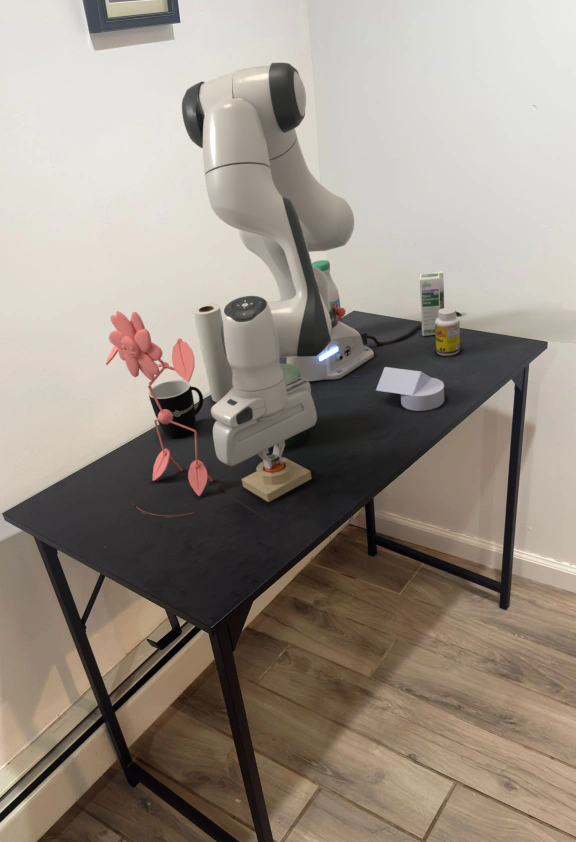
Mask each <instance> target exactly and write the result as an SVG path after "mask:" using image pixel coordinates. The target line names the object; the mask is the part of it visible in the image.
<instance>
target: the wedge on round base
mask: <svg viewBox="0 0 576 842" xmlns="http://www.w3.org/2000/svg"><path fill="white" fill-rule="evenodd" d="M375 391H377V392H385V393H391V394H398V395H400V404H401V406H402V407H403V408H404V409H405V410H409V411H415V412H424V411H430V410H434V409H437V408H439V407H441V406H442V405H443V404H444V403H445V383H444V382H443V381H442V380H441V379H438V378H436V377H431V376H430V375H428V374H426V373H424V372H423V371H421V370H420V371H419V370H412V369H405V368H397V367H388V366H384V368H383V371H382V374H381V376H380V377H379V381H378V383H377V385H376V388H375Z"/></svg>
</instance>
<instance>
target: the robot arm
mask: <svg viewBox="0 0 576 842" xmlns="http://www.w3.org/2000/svg"><path fill="white" fill-rule="evenodd" d="M306 107H307V94H306V88H305V84H304V82H303V80H302V78H301V75H300V73H299V71H298V70H297V68H296V67H294V66H293V64H292V65H291V63H289V62H272V63H270V65H259V66H252V67H246V68H241V69H237V70H235V71H233V72H230V73H226V74H224V75H221V76H218V77H215V78H212V79H210V80H208V81H200V82H197V83H196V84H194V85H191V86H190V87H189V88H187V89H186V91H185V94H184V95H183V98H182V101H181V115H182V120H183V124H184V128H185V131H186V132H187V135H188V137H189V139H190V140H191V142H192V143H193V144H195V145H196V146H198V148H201V149H202V160H203V170H204V171H203V172H204V179H205V187H206V192H207V197H208V200H209V204H210V207H211V209H212V211H213V212H214V214H215V215H216V216H217V218H219V220H221V221H222V222H223V223H225V225H228V226H230V227H232V228H234V229H237V230H238V232H239V233H238V234H239V237H240V241H242V244H243V246H244V247H245V248H246V249H247V250H248V251H250V252H251V253H253V254H254V255H255V256H257V258H259V259H260V260H261V261H262V262H263V263H264V264H265V265H266V267H267V268H268V269H269V271H270V273H271V274H272V275H273V278H274V280H275V282H276V286H277V289H278V293H279V297H280V300H274V301H267V300H266V299H264V297H261V296H258V295H257V296H256V295H246V296H245V295H244V296H240V297H237V298H235V299H233V300H231V301H229V302H228V303H227V304H226V305H225V306H224V308H223V309H222V320H223V323H222V325H221V338H222V343H223V348H224V353H225V355H226V357H227V359H228V362H229V364H230V366H231V368H232V372H233V377H232V384H233V388H232V389H231V390H230V391H229V392H228V393H227V394H226V395H225V396H224V397H223V398H222V399H221V400H220V401H218V402H215V404H214V405H213V406H211V408H210V414H211V417H212V418H213V419H215V422H214V424H213V427H212V438H213V444H214V451H215V455H216V458H217V459H218V460H219V461H220V462H221V463H222V464H224V465H226V466H229V467H233V466H236V465H238V464H240V463H242V462H245V461H246V460H248V459H250V458H252V457H254V456H256V455H257V456H258V457H260V458H261V459H262V462H264V466H265V468H267V469H271V468H273V467H275V466H277V465H279V464H281V463H282V458H283V452H284V450H285V449H284V447H285V441H284V440H286V439H288V438H290V437H292V436H294V435H296V434H298V433H300V432H302V431H304V430H306V431H307V430H309V429H310V428H312V427H314V426H315V425H316V423H317V421H318V415H317V410H316V406H315V405H316V404H315V401H314V399H313V396H312V388H311V383H310V382H316V381H323V380H339V379H342V378H343V377H345V376H346V375H348V374H349V373H351V372H352V371H354V370H355V369H357V368H359V367H360V366H362V365H363V364H364V363H366V362H368V361H369V360H371V359H373V358H374V357H375V353H374V350H373V349H372V348H370V347H368V346H366V345H368V339H370V340H372V341H373V342H374V344H376V345H377V346H385V345H390V344H394V343H396V342H399V341H401V340H403V339H405V338H408V337H409V336H411V335H412V334H413V333H415V332H416V331H417V330H419V329H420V328H422V323H420V324H417V325H416V326H415V327H413V328H412V329H411V330H410V331H408V332H407V333H405V334H403V335H401V336H399V337H396V338H394V339H391V340H389V341H378V339H377V338H376V337H375V336H374V335H369V334H368V333H367V332H365V331H363V330H360V329H358V328H356V329H355V328H353V327H351V326H349V325H347V324H345V323H344V322H342V323H341V322H340V321H338V319H337V317H336V316H340V317H342V318H343V317H345V315H346V312H347V311H346V309H345V307H341V306H340V307H341V308H340V307H337V308H336V309H334V307H331V306H330V299H329V290H328V281H327V278H326V276H325V274H324V273H323V272H322V271H321V270H320V269H319V268H317V267H315V266H313V265H312V263H313V262H312V259H311V256H310V252H312V253H313V252H327V251H330V250H333V249H337V248H341V247H344V246H346V245H347V244H348V242H349V241H350V239H351V238H352V235H353V234H354V229H355V216H354V212H353V209H352V207H351V206H350V204H349V202H348V201H347V200H346V199H344V198H343V197H340V196H338V195H336V194H334V193H332V192H331V191H330V190H328V189H327V188H326V187H325V186H324V185H322V184H321V183H320V182H319V180H317V179H316V177H315V176H314V175H313V173H312V172H311V170H310V168H309V167H308V165H307V161H306V159H305V156H304V154H303V151H302V148H301V145H300V140H299V138H298V134H297V131H296V129H297V128H298V127H299V126H300V125H301V123H302V122H303V120H304V119H305V115H306ZM456 316H457V317H461V316H462V314H461V313H460V312H458V311H456ZM282 358H286V363H285V364H291V365H294V366H296V367H297V368H298V369H299V370H300V377H299V379H296V380H295V381H293V382H291V383H287V384H285V378H284V373H283V370H282V368H281V366H280V363H281V362H280V359H282ZM272 446H274V449H273V451H272V453H271V454H269V452H270V451H268V448H270V447H272Z"/></svg>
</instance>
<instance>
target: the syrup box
mask: <svg viewBox="0 0 576 842" xmlns="http://www.w3.org/2000/svg"><path fill="white" fill-rule="evenodd" d="M444 281H445V280H444V270H440V271H432V272H421V273H420V274H419V292H420V293H419V294H420V314H421V316H420V317H421V324H422V327H421V336H422V337H426V336H436V332H435V321H436V319H437V318H438V311H439V310H440V309H443V308H445V285H444V283H445V282H444Z"/></svg>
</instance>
